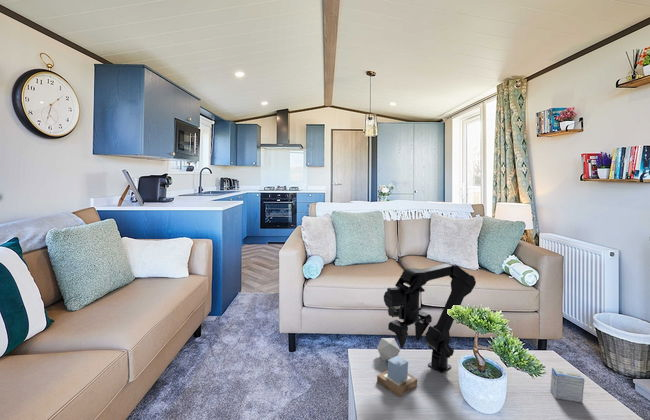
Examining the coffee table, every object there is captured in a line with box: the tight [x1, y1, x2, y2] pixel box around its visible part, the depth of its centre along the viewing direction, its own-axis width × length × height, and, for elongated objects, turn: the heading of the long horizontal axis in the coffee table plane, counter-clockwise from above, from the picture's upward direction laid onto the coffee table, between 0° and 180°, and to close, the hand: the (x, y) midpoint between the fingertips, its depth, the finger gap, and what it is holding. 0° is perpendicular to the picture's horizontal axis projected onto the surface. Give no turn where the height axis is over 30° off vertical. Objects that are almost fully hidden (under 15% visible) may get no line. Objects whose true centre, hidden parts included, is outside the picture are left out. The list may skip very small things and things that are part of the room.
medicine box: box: [550, 367, 585, 404], centre depth 107 cm, size 8×4×9 cm, turn 73°
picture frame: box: [376, 369, 418, 398], centre depth 113 cm, size 10×10×3 cm
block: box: [387, 355, 409, 383], centre depth 113 cm, size 5×5×6 cm
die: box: [376, 337, 401, 362], centre depth 129 cm, size 8×9×10 cm
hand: (409, 343), depth 118 cm, fingers open, 9 cm apart
